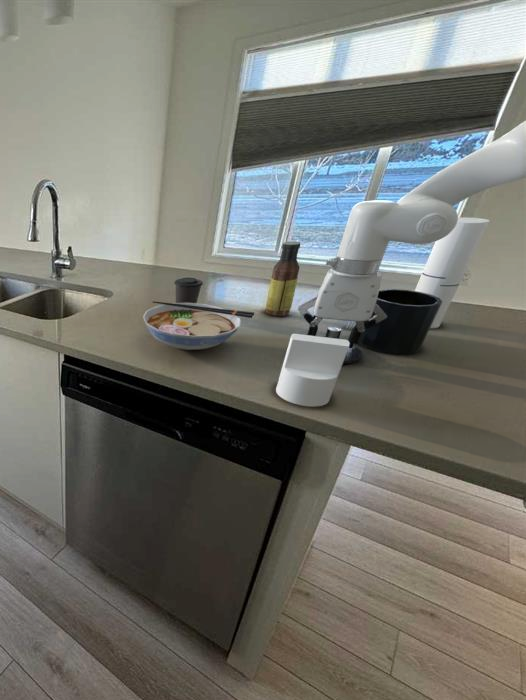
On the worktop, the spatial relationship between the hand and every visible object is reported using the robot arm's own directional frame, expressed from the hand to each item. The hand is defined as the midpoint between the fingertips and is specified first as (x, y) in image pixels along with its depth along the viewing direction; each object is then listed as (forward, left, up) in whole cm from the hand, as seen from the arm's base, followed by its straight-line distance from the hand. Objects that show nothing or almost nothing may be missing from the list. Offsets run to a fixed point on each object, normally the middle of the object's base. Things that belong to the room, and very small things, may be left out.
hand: (330, 342), depth 93 cm
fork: (-9, -27, -3) cm, 29 cm away
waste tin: (-12, -10, -3) cm, 16 cm away
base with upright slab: (+5, +22, -3) cm, 23 cm away
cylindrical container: (-21, -27, -3) cm, 34 cm away
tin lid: (0, 0, -2) cm, 2 cm away
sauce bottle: (+11, -24, -3) cm, 27 cm away
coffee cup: (+35, -18, -3) cm, 39 cm away
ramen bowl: (+30, +6, -3) cm, 31 cm away
